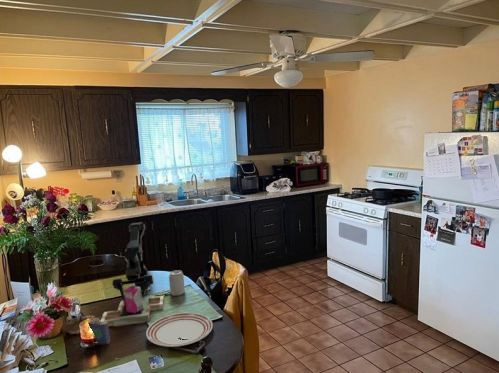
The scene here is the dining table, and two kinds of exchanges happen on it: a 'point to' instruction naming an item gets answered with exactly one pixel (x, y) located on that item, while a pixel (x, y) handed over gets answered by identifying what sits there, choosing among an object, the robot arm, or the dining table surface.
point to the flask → (100, 331)
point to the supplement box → (133, 299)
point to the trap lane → (117, 320)
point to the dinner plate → (179, 329)
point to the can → (176, 283)
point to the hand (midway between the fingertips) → (133, 298)
